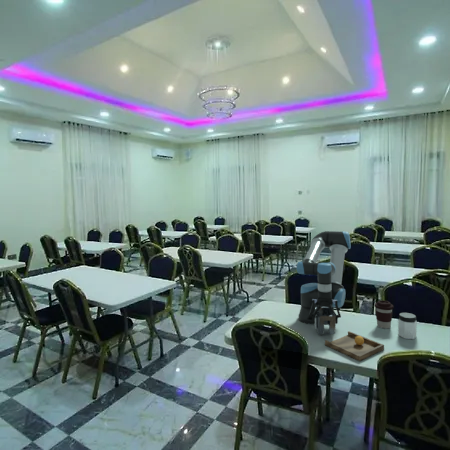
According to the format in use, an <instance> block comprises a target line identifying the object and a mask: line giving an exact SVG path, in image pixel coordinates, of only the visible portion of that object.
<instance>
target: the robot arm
mask: <svg viewBox="0 0 450 450" xmlns="http://www.w3.org/2000/svg"><path fill="white" fill-rule="evenodd" d="M327 248H328V249H329V250H330V251H331V252H330V259H329V262H318V260H319V257H320V255H321V253H322V251H323V250H325V249H327ZM348 250H351V236H350V233H349V231H344V230H343V231H336V230H335V231H334V230H333V231H332V230H331V231H330V230H329V231H328V230H327V231H326V230H324V231H322V232H319V233H318V234H316V235H315V236H314V237H313V238H312V239H311V241H310V247H309V248H308V250H307V253H306V255H305V257H304V260H303V261H298V262H297V264H296V272H297V274H300V275H311V276H317V282H310V283H305V284H302V285H301V287H300V309H299V313H298V320H299V321H300V322H301V321H302V322H301V323H304V322H305V324H308V323H310V324H311V325H314V323H315V325H314V329H315V330H316V314H317V311H319V309H320V308H321V307H329V308H330V310H331V311H332V313H335V315H336V320H335V331H336V325H337V324H338V322H339V320H338V318H339V319H340V318H341V317H342V315H341V313H340V308H342V307H343V306H344V304H345V299H346V292H347V291H346V289H345V288H344V286H343V285H342V281H343V271H344V262H345V257H346V256H345V254H347V252H348ZM315 307H317V308H316V310H315ZM334 308H335V309H336V312H337V313H336V312H335V310H334ZM310 324H309V325H310Z"/></svg>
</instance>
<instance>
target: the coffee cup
mask: <svg viewBox="0 0 450 450" xmlns="http://www.w3.org/2000/svg"><path fill="white" fill-rule="evenodd" d="M374 307H375V317H376V319H375V320H376V325H377V327H378V328H380V329H383V330H384V329H390V328H391V326H392V319H393V309H394V304H392V303H391V302H390V301H388V300H378V301H377V302H375V303H374Z"/></svg>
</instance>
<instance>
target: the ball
mask: <svg viewBox="0 0 450 450" xmlns="http://www.w3.org/2000/svg"><path fill="white" fill-rule="evenodd" d="M361 336H362V335H360V336H357V337H356V338H355V343H356V344H357V345H362V344H363V343H364V339H363V338H362V337H361Z"/></svg>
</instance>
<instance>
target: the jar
mask: <svg viewBox="0 0 450 450" xmlns="http://www.w3.org/2000/svg"><path fill="white" fill-rule="evenodd" d="M397 322H398V324H397V325H398V326H397V327H398V329H397V331H398V332H397V333H398V334H397V335H398V336H399V337H401V338H403V339H405V340H407V339H408V340H415V338H417V332H418V331H417V328H418V327H417V323H418V321H417V316H416V315H415V314H413V313H409V312H400V313H399V316H398V321H397Z"/></svg>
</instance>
